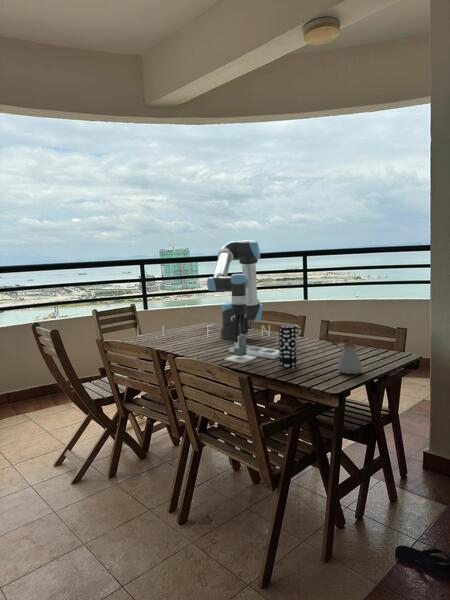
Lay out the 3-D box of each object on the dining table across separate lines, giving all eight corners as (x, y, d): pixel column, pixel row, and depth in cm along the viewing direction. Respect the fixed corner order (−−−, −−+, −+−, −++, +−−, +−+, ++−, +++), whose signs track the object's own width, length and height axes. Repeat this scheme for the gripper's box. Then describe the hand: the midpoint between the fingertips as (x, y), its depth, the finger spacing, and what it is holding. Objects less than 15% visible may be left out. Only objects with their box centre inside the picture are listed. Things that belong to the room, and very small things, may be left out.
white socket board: (229, 351, 238) (229, 347, 238) (240, 348, 246) (239, 344, 245) (273, 359, 219) (273, 354, 219) (283, 355, 227) (283, 350, 226)
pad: (238, 355, 230) (238, 353, 230) (256, 358, 222) (256, 356, 222) (224, 360, 221) (224, 358, 221) (242, 363, 213) (242, 361, 213)
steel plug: (239, 353, 225) (239, 335, 223) (246, 354, 222) (246, 336, 220) (234, 355, 221) (233, 336, 220) (241, 356, 218) (240, 337, 217)
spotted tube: (286, 369, 200) (285, 328, 197) (276, 365, 207) (275, 326, 205) (300, 367, 204) (299, 326, 201) (289, 363, 211) (289, 324, 209)
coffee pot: (368, 373, 190) (368, 341, 188) (350, 378, 184) (351, 344, 182) (332, 363, 208) (332, 333, 206) (315, 367, 202) (315, 337, 200)
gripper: (234, 306, 209) (235, 351, 212) (254, 302, 222) (255, 344, 225) (222, 305, 214) (224, 349, 217) (243, 301, 227) (244, 343, 230)
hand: (240, 347), depth 221 cm, fingers closed on steel plug, 5 cm apart
